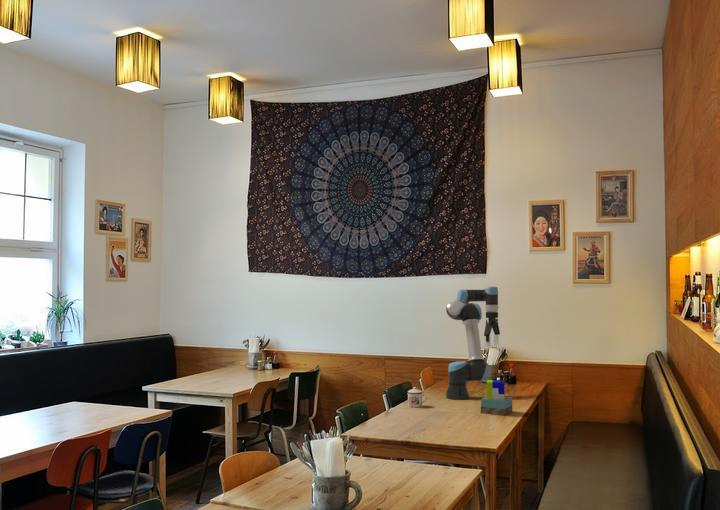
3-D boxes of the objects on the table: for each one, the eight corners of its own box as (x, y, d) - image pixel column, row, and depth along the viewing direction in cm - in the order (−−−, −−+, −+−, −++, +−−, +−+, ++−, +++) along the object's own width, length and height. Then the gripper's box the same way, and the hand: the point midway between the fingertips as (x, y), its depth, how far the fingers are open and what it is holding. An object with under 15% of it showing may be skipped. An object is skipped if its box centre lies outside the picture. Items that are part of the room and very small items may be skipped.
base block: (480, 414, 386) (480, 406, 386) (489, 410, 398) (489, 402, 398) (503, 417, 378) (503, 409, 379) (512, 412, 390) (512, 405, 390)
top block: (481, 406, 386) (481, 398, 386) (489, 402, 398) (489, 395, 398) (504, 409, 379) (504, 401, 379) (512, 405, 390) (512, 397, 391)
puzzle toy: (504, 400, 382) (504, 382, 382) (486, 399, 384) (486, 382, 385) (504, 397, 392) (504, 380, 392) (487, 396, 394) (487, 379, 394)
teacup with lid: (406, 407, 404) (405, 387, 405) (409, 404, 413) (409, 385, 413) (425, 408, 401) (425, 388, 401) (428, 405, 409) (428, 386, 410)
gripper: (490, 312, 397) (490, 348, 396) (504, 310, 418) (505, 344, 417) (478, 312, 401) (478, 347, 400) (493, 310, 422) (493, 344, 421)
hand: (492, 346), depth 408 cm, fingers open, 13 cm apart
